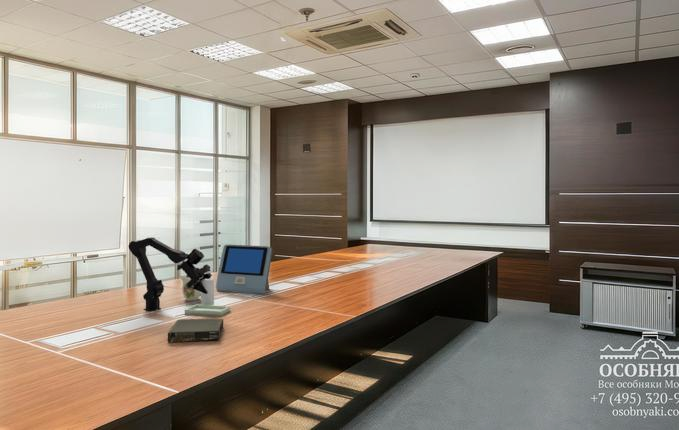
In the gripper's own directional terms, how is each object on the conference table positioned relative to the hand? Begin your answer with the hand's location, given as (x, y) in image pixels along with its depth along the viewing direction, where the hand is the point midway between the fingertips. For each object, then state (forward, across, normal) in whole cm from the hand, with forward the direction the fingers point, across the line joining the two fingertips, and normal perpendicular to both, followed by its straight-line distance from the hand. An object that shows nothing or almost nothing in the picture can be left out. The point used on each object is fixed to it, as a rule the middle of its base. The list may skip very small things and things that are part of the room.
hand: (209, 292), depth 243 cm
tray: (+7, 0, +9) cm, 11 cm away
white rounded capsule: (+4, 0, +6) cm, 7 cm away
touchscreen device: (+6, +60, +10) cm, 61 cm away
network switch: (+16, -38, 0) cm, 41 cm away
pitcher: (-8, +27, +24) cm, 38 cm away
